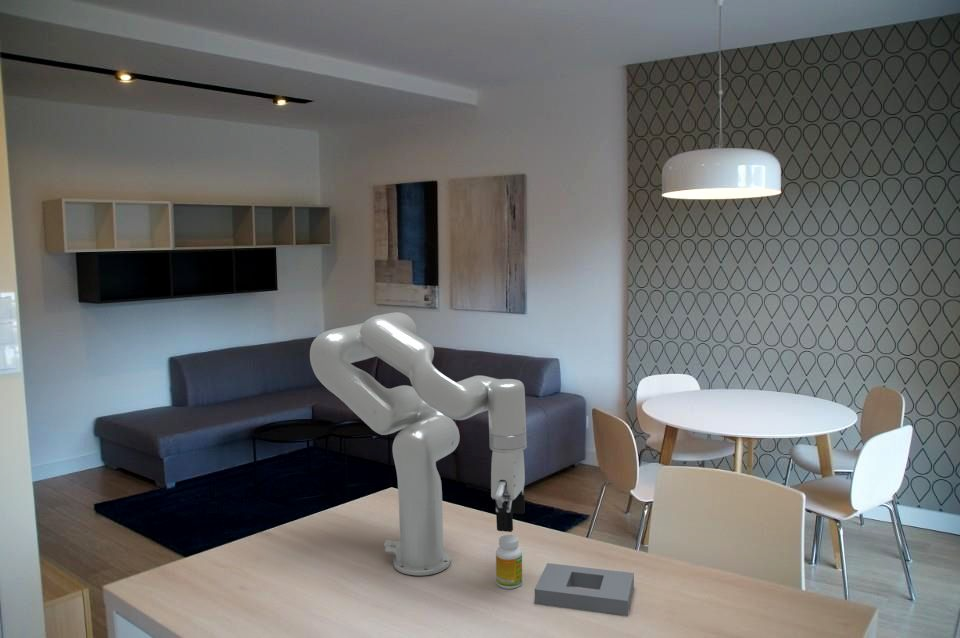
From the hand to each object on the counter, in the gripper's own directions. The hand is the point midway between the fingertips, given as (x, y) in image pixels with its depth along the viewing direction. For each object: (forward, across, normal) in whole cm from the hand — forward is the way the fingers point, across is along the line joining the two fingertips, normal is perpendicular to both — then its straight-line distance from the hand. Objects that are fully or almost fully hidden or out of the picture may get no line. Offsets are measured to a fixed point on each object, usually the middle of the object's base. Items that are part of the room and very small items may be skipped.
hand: (511, 521), depth 153 cm
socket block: (+14, +1, +15) cm, 20 cm away
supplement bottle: (+14, 0, -1) cm, 14 cm away
